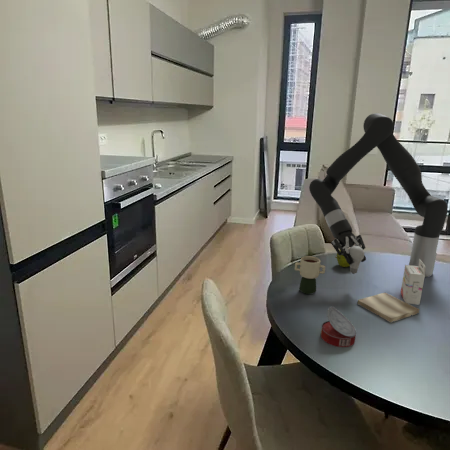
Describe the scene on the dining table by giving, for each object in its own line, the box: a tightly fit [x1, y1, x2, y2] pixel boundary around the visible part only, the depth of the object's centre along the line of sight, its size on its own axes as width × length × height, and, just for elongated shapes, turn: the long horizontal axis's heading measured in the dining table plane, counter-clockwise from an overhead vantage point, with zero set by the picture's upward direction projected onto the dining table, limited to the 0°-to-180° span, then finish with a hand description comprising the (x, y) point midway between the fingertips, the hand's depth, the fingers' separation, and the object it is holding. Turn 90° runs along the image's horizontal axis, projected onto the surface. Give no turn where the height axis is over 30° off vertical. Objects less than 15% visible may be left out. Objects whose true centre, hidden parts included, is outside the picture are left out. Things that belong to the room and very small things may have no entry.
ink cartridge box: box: [400, 259, 426, 306], centre depth 137 cm, size 9×5×15 cm, turn 168°
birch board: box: [357, 292, 420, 323], centre depth 131 cm, size 14×14×2 cm
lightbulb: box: [348, 245, 365, 275], centre depth 142 cm, size 6×6×11 cm
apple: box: [334, 252, 350, 268], centre depth 166 cm, size 8×9×8 cm
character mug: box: [294, 255, 326, 295], centre depth 140 cm, size 11×7×13 cm, turn 76°
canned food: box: [320, 306, 357, 348], centre depth 112 cm, size 11×10×10 cm
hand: (357, 262), depth 141 cm, fingers closed on lightbulb, 5 cm apart
